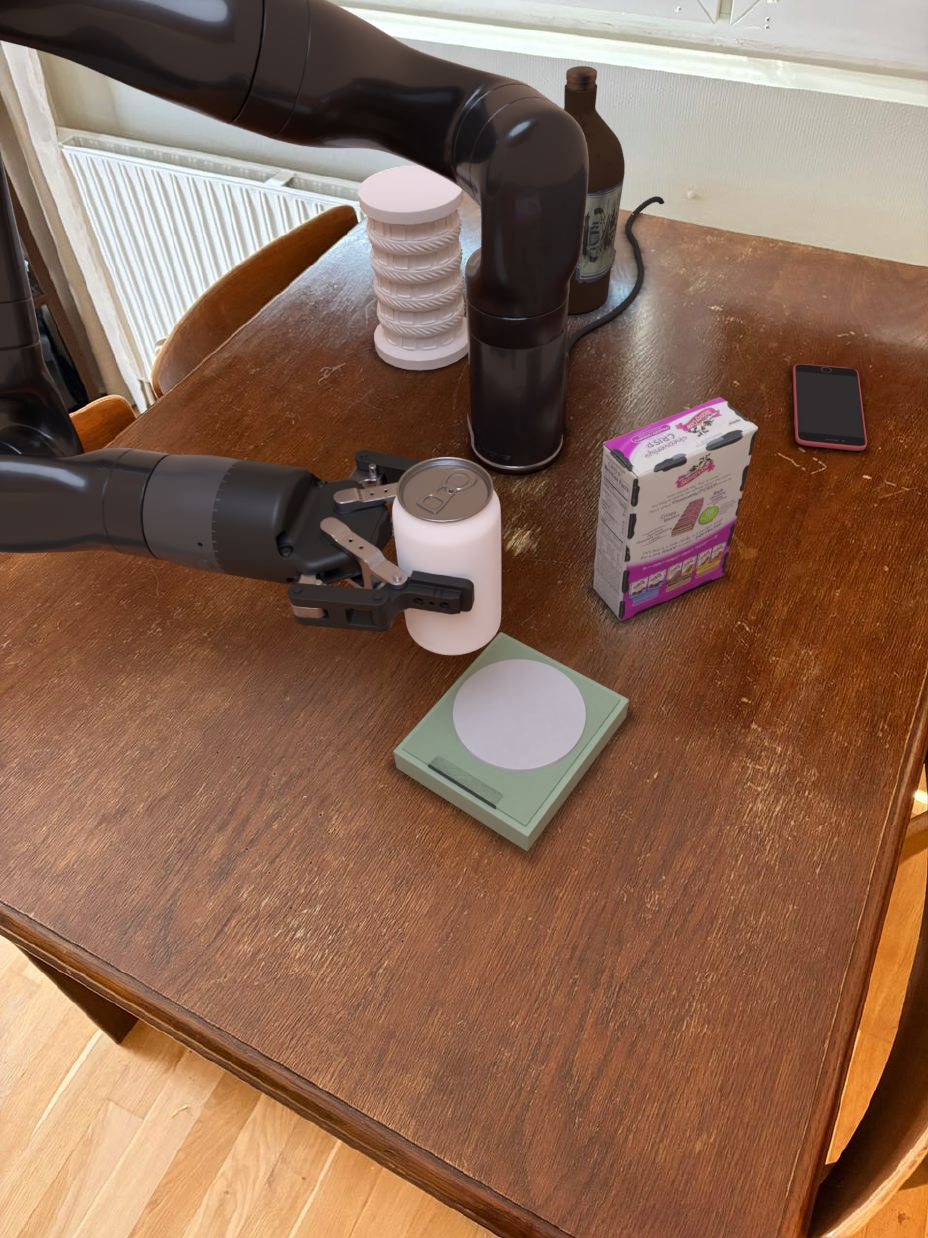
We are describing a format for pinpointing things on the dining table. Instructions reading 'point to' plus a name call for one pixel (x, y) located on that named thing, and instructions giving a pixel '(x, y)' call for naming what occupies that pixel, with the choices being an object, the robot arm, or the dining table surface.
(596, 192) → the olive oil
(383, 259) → the decorative container
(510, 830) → the scale
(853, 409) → the smartphone
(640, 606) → the candy bar box
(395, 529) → the can
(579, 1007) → the dining table surface
